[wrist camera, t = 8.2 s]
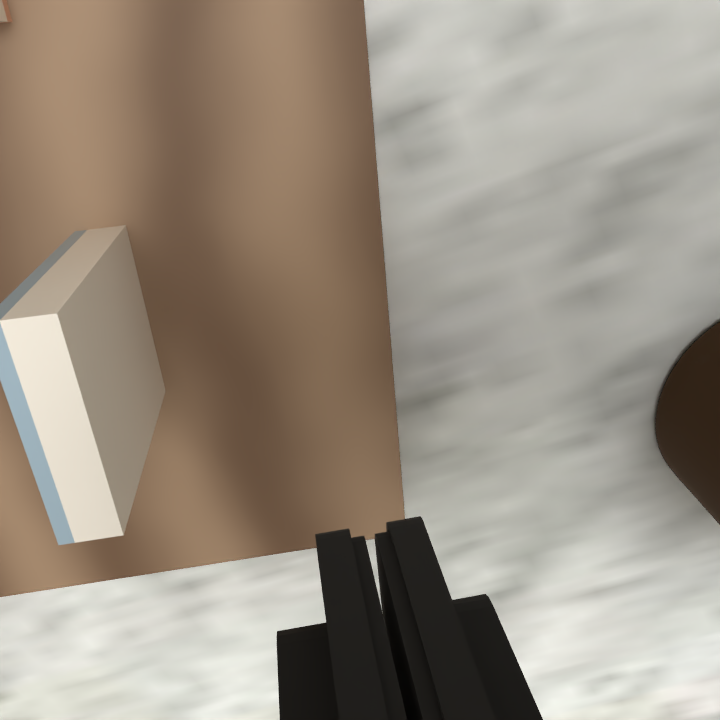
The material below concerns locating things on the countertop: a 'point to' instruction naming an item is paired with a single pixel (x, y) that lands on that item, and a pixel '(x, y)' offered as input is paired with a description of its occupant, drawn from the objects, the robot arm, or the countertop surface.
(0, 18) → the tile
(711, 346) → the olive oil
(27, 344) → the tile
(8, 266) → the board
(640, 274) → the countertop surface
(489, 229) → the countertop surface
